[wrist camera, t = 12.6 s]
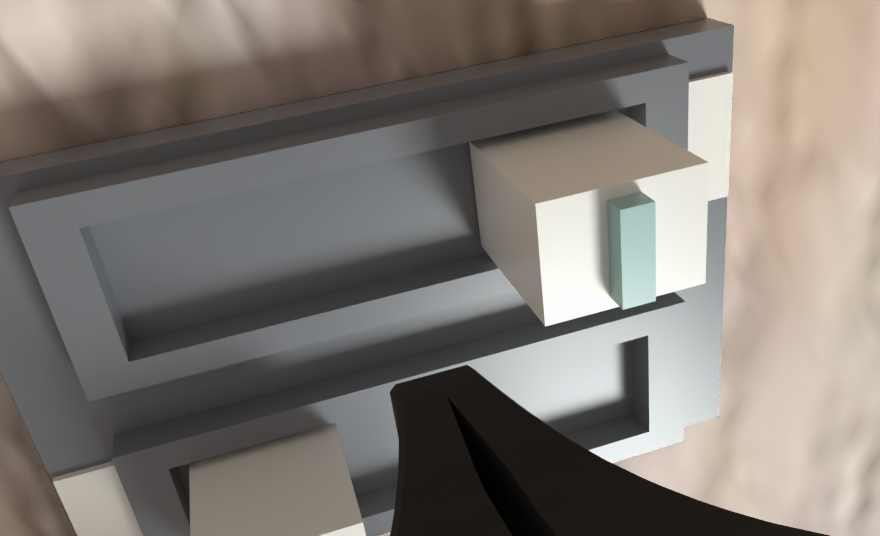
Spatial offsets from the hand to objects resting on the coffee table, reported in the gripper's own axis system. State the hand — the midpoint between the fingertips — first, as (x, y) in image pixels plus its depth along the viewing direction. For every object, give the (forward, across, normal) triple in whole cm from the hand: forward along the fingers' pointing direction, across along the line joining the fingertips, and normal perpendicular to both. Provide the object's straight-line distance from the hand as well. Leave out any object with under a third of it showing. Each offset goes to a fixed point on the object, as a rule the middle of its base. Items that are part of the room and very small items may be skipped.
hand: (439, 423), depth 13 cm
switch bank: (+10, -1, +4) cm, 11 cm away
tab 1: (+9, +3, +7) cm, 12 cm away
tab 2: (+9, -5, 0) cm, 10 cm away
